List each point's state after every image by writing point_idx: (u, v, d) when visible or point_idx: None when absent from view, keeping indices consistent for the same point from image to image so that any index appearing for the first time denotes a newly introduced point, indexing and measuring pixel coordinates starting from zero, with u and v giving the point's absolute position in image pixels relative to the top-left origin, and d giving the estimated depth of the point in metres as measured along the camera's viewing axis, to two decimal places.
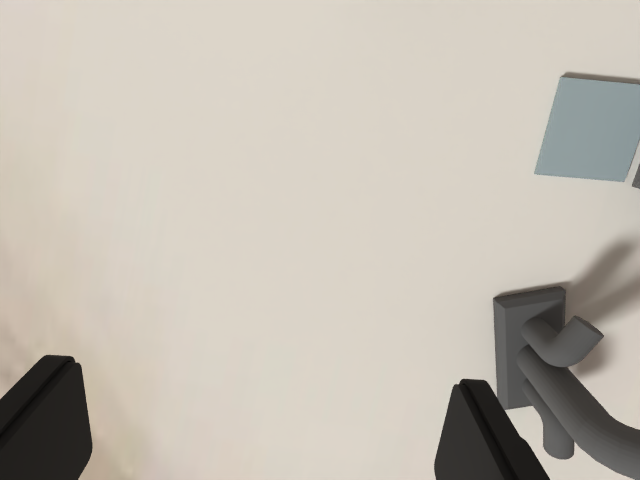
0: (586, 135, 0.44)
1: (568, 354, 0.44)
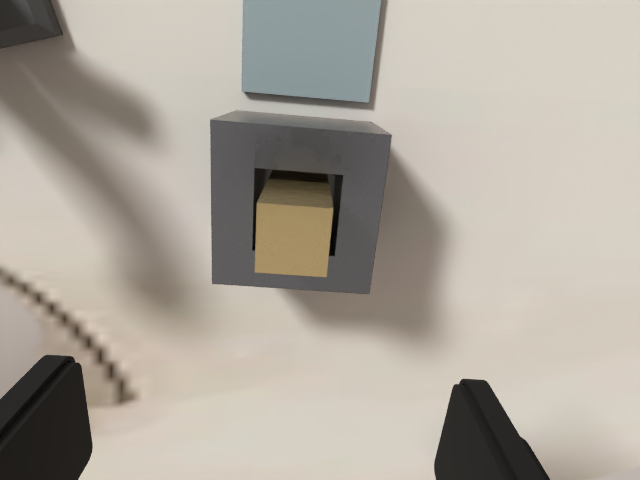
0: (305, 12, 0.30)
1: None
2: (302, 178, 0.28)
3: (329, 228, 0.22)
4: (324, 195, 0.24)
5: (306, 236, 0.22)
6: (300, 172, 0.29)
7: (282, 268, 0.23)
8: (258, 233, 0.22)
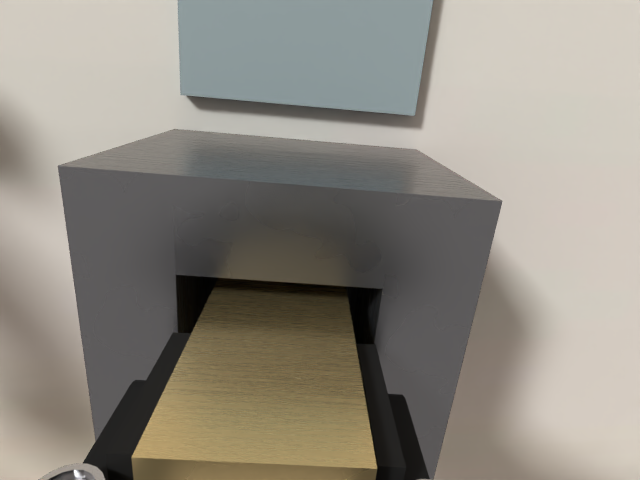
0: None
1: None
2: None
3: None
4: (342, 367, 0.09)
5: None
6: None
7: None
8: None
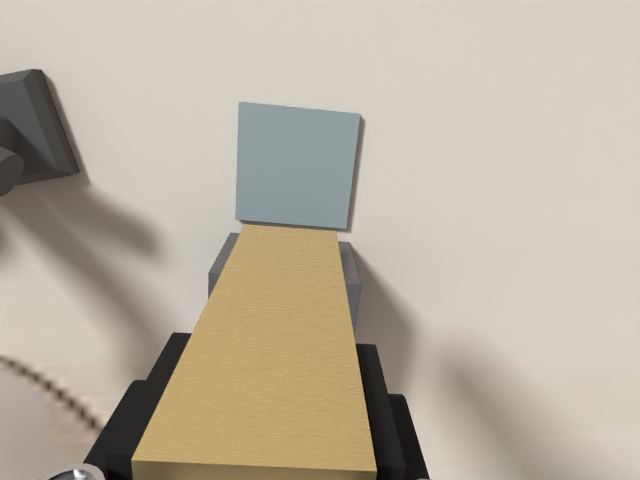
0: (291, 158, 0.35)
1: None
2: (290, 282, 0.13)
3: None
4: (342, 369, 0.09)
5: None
6: (287, 258, 0.15)
7: None
8: None
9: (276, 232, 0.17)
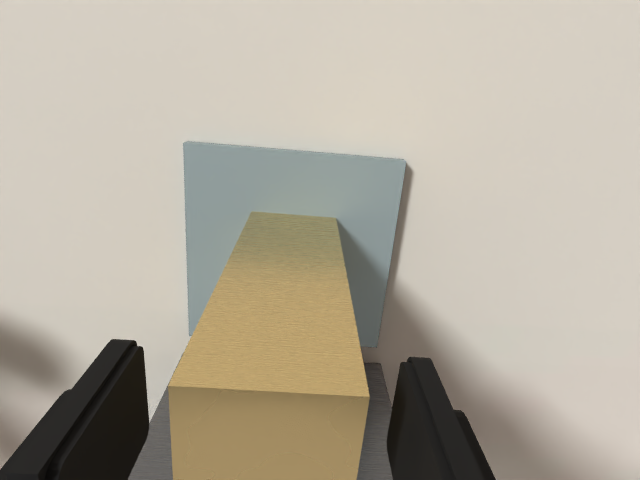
0: None
1: None
2: (294, 259, 0.14)
3: (358, 438, 0.09)
4: (341, 325, 0.11)
5: (299, 456, 0.09)
6: (291, 239, 0.16)
7: None
8: (178, 451, 0.09)
9: (281, 218, 0.19)
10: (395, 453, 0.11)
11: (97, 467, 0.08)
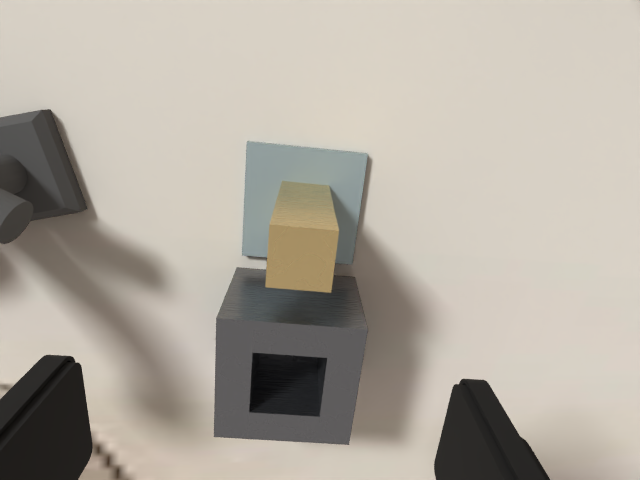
0: None
1: None
2: (308, 198, 0.30)
3: (335, 248, 0.24)
4: (330, 217, 0.26)
5: (313, 255, 0.24)
6: (305, 192, 0.32)
7: (291, 283, 0.25)
8: (270, 252, 0.24)
9: (298, 184, 0.34)
10: None
11: None
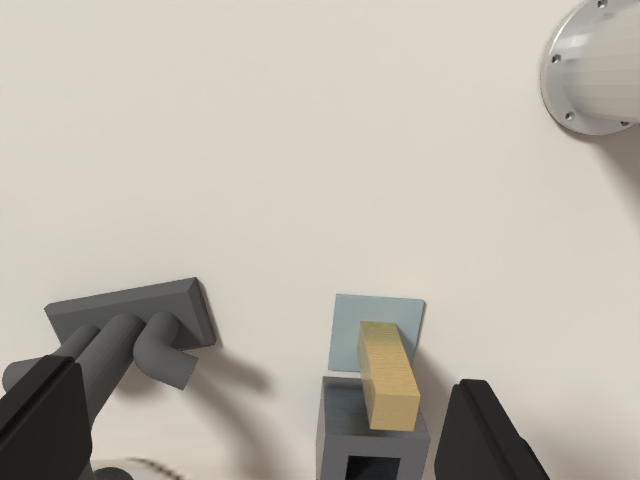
0: None
1: (154, 362, 0.39)
2: (387, 349, 0.42)
3: (417, 406, 0.37)
4: (409, 376, 0.39)
5: (403, 410, 0.37)
6: (382, 338, 0.44)
7: (387, 426, 0.37)
8: (375, 409, 0.37)
9: (373, 324, 0.47)
10: None
11: None
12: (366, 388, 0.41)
